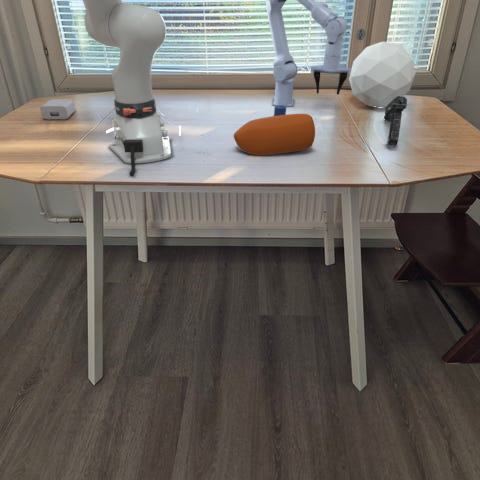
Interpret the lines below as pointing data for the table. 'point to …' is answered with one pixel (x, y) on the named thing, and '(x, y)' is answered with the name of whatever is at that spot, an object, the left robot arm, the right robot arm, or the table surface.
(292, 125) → the orange tapered cylinder
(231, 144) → the table surface
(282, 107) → the canister
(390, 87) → the decorative sphere
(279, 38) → the right robot arm
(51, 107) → the charger
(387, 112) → the futuristic handgun
